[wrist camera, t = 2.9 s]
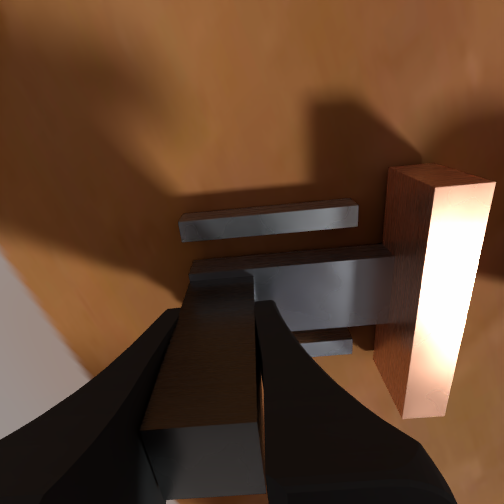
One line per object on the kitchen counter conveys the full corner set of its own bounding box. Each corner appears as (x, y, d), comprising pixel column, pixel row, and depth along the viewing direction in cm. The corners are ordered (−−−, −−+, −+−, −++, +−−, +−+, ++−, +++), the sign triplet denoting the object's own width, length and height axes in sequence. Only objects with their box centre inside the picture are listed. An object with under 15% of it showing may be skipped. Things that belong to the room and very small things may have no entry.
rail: (345, 338, 15) (351, 353, 14) (209, 349, 15) (206, 365, 14) (350, 198, 12) (358, 205, 11) (183, 213, 13) (178, 222, 12)
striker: (407, 356, 15) (529, 550, 9) (214, 371, 16) (188, 570, 9) (433, 162, 12) (685, 240, 5) (179, 186, 12) (90, 291, 5)
